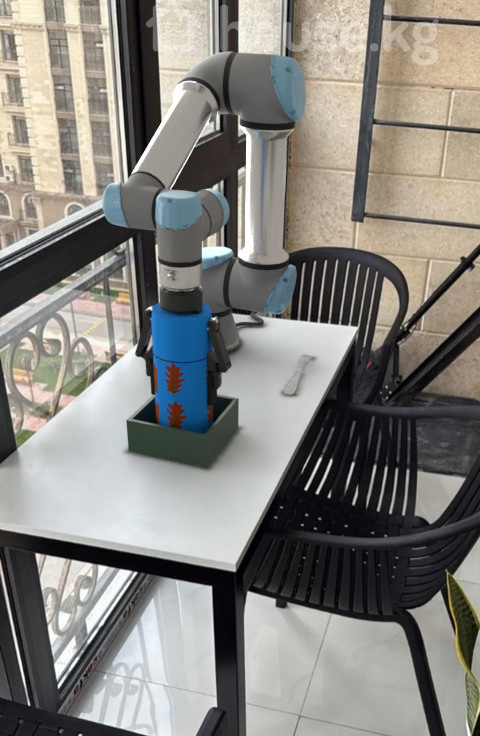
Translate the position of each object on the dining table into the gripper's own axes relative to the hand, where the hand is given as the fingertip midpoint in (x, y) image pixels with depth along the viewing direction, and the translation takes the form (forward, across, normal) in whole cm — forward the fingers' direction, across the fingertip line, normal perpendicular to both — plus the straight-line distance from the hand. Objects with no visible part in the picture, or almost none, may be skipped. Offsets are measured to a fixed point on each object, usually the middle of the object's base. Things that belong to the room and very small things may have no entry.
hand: (184, 397), depth 143 cm
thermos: (+8, 0, 0) cm, 8 cm away
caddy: (+9, 0, 0) cm, 9 cm away
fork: (+9, +12, +36) cm, 39 cm away
